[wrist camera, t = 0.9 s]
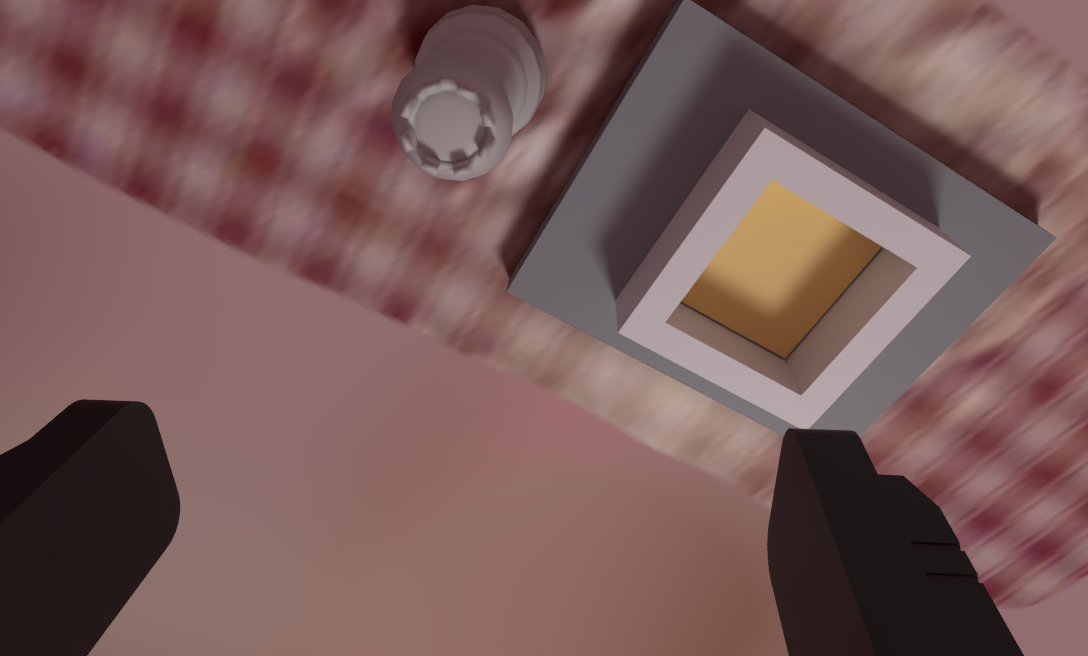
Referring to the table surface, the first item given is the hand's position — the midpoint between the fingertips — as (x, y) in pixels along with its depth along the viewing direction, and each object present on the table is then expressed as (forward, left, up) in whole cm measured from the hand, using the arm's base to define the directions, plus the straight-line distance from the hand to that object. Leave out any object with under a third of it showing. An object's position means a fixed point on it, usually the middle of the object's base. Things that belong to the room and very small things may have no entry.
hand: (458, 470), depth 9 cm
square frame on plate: (+9, +5, -20) cm, 22 cm away
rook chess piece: (-2, -1, -20) cm, 20 cm away
